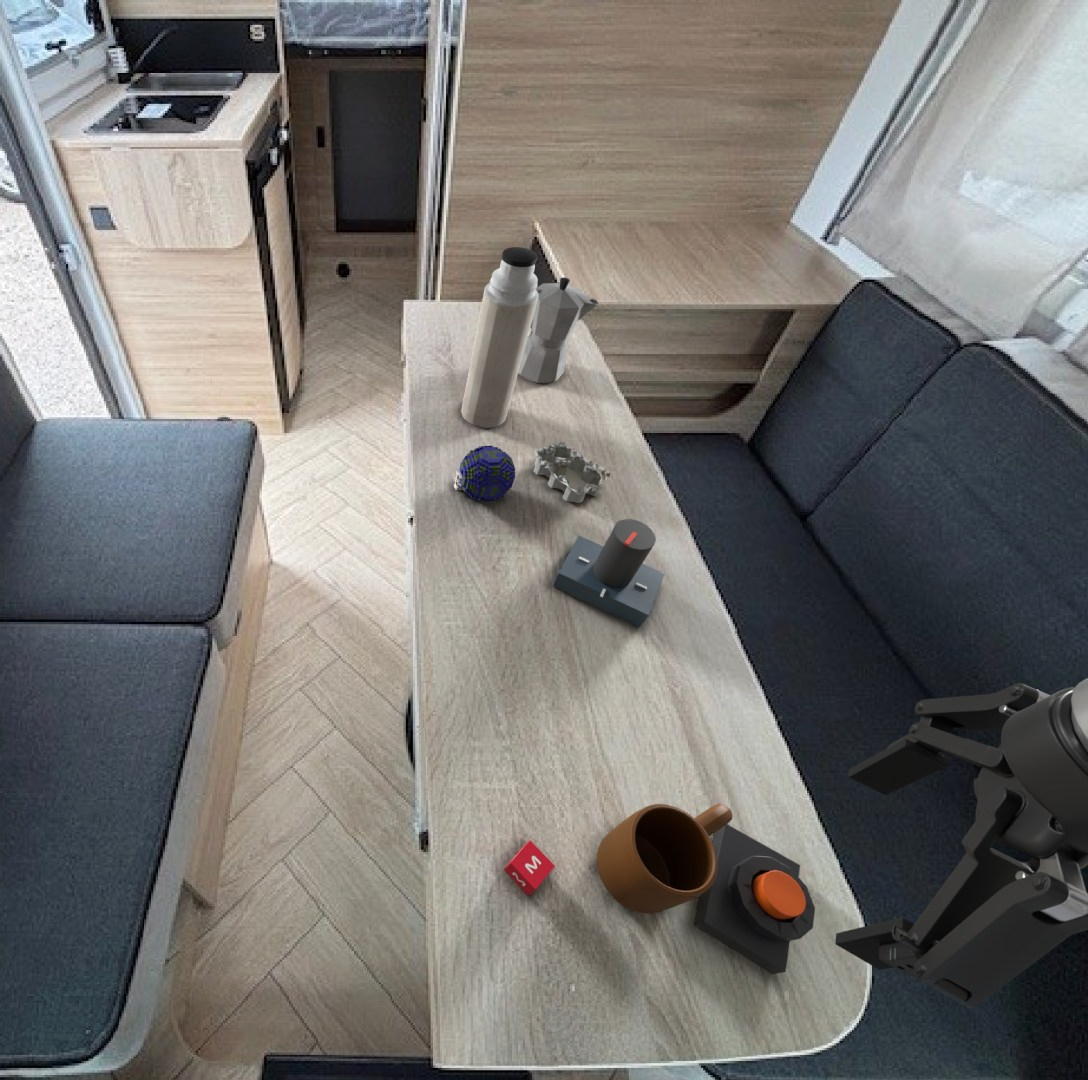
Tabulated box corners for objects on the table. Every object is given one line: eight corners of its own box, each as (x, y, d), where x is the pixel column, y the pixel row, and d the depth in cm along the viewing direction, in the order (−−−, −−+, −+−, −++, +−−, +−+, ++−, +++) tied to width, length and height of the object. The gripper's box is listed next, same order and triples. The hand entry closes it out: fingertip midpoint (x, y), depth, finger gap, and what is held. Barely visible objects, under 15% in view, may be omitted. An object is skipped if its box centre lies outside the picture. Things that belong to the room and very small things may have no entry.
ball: (460, 510, 89) (468, 473, 83) (451, 475, 94) (458, 438, 88) (512, 508, 90) (524, 471, 84) (500, 473, 94) (510, 436, 89)
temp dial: (604, 552, 81) (626, 511, 74) (638, 572, 79) (664, 532, 72) (586, 573, 78) (607, 532, 72) (620, 594, 76) (645, 554, 70)
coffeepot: (574, 362, 115) (605, 271, 102) (572, 390, 110) (605, 297, 96) (495, 349, 118) (516, 258, 104) (489, 375, 112) (510, 283, 98)
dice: (522, 847, 59) (530, 839, 57) (546, 872, 58) (555, 865, 56) (503, 869, 58) (510, 862, 56) (527, 895, 57) (535, 889, 54)
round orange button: (796, 889, 54) (808, 885, 53) (791, 928, 52) (803, 925, 51) (755, 865, 56) (766, 861, 54) (749, 903, 54) (759, 899, 52)
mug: (664, 795, 63) (706, 764, 56) (721, 866, 59) (774, 843, 52) (578, 852, 59) (611, 826, 52) (632, 932, 55) (676, 917, 48)
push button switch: (795, 874, 59) (820, 865, 55) (780, 979, 53) (807, 976, 50) (714, 828, 61) (734, 817, 58) (692, 924, 56) (713, 918, 52)
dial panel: (657, 583, 81) (666, 569, 79) (638, 631, 76) (648, 618, 74) (573, 545, 85) (580, 531, 83) (550, 589, 80) (557, 575, 78)
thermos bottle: (487, 395, 108) (524, 236, 86) (515, 419, 103) (561, 259, 82) (452, 407, 105) (480, 247, 84) (479, 433, 101) (516, 271, 79)
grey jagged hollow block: (605, 494, 92) (614, 475, 89) (568, 509, 90) (576, 490, 87) (561, 452, 98) (568, 433, 95) (525, 465, 96) (531, 446, 93)
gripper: (1032, 554, 37) (823, 704, 53) (1101, 967, 23) (788, 1002, 39) (1188, 609, 34) (919, 749, 50) (1375, 1110, 20) (919, 1084, 36)
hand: (862, 859), depth 45 cm, fingers open, 13 cm apart
